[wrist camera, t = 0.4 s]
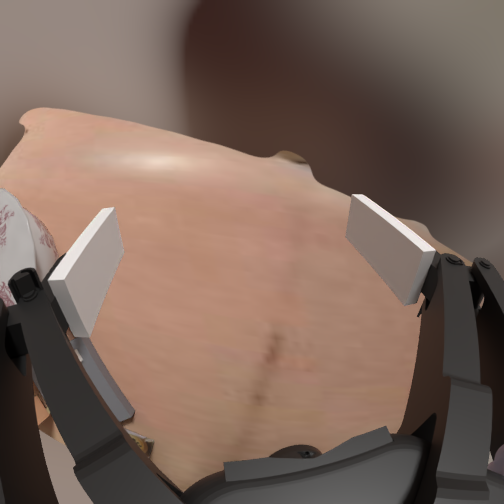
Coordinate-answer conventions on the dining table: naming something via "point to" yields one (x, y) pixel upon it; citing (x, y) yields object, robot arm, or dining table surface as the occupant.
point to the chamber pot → (22, 244)
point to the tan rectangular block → (40, 410)
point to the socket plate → (99, 378)
